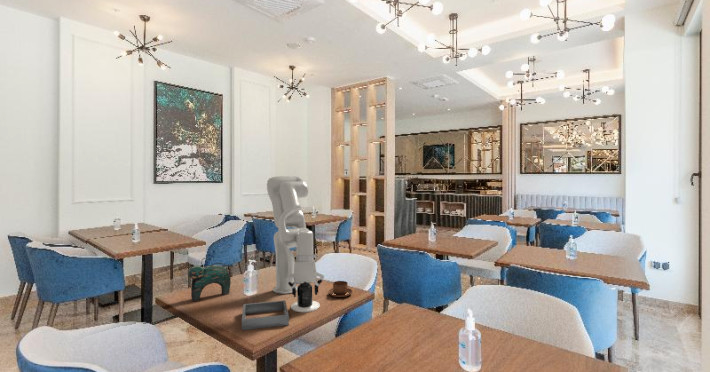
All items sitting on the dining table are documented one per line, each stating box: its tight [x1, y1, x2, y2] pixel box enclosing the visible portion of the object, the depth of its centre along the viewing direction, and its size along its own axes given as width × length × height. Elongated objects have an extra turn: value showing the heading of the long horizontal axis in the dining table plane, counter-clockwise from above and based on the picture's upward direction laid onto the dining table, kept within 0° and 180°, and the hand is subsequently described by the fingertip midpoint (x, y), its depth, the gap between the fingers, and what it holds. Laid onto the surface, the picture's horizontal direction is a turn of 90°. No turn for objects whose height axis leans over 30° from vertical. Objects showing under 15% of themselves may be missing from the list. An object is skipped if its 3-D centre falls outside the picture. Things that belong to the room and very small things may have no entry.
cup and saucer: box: [328, 280, 353, 298], centre depth 181 cm, size 12×12×6 cm
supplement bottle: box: [296, 281, 313, 308], centre depth 164 cm, size 7×7×12 cm
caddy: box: [241, 299, 290, 331], centre depth 151 cm, size 18×18×4 cm
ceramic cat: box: [187, 257, 231, 302], centre depth 179 cm, size 20×6×20 cm, turn 129°
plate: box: [290, 300, 321, 314], centre depth 164 cm, size 13×13×1 cm
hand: (305, 295), depth 164 cm, fingers open, 9 cm apart
